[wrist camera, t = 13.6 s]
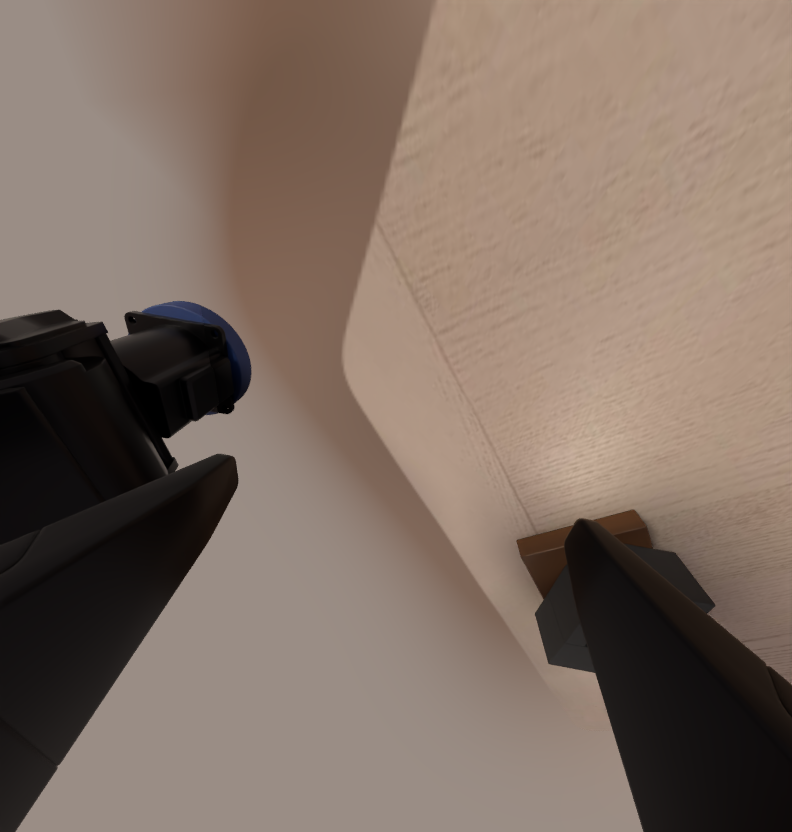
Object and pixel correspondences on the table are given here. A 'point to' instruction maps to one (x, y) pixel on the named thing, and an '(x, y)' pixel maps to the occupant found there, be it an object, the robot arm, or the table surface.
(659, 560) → the black sloped block
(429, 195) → the table surface
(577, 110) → the table surface
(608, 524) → the base pad
